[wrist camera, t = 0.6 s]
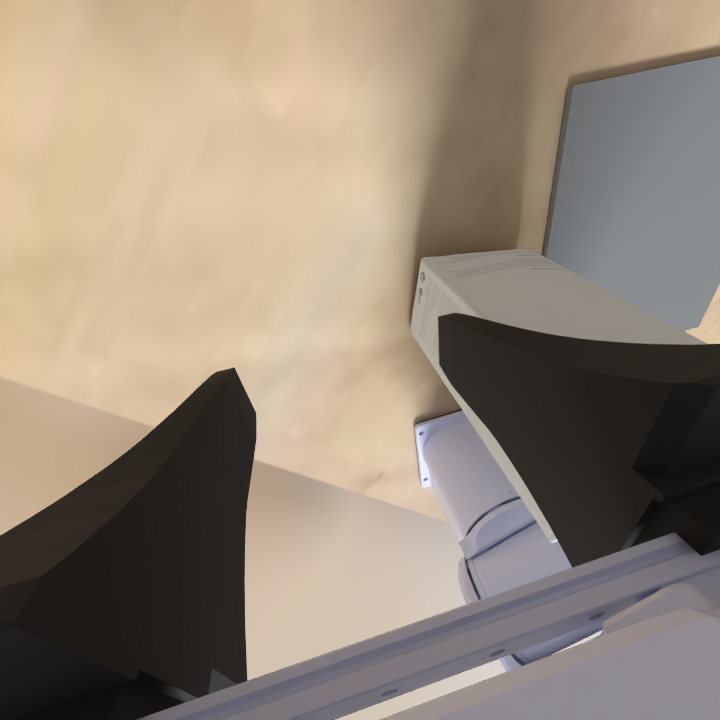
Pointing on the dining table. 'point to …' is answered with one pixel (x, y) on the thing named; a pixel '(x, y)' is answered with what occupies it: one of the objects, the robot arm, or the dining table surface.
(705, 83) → the mat
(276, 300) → the dining table surface
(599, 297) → the skincare box
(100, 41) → the dining table surface
